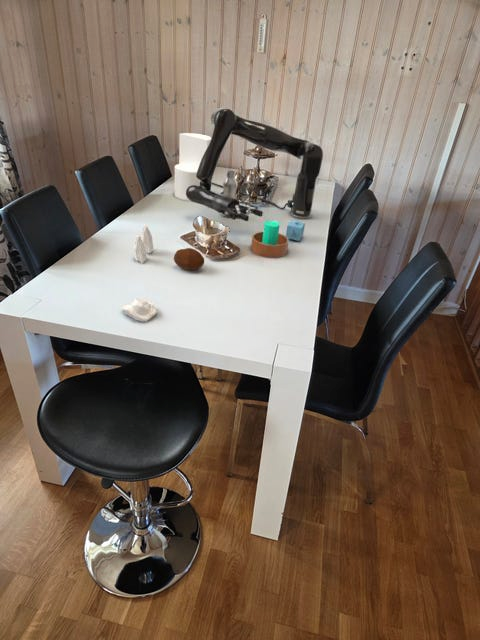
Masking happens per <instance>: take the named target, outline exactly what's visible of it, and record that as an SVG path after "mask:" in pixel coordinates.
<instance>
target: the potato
mask: <svg viewBox="0 0 480 640" xmlns="http://www.w3.org/2000/svg"><path fill="white" fill-rule="evenodd" d="M173 261H174V263H175V265H176V266H177V267H179V268H181V269H183V270H189V271H197V270H199V269H200V268H202V267H203V266H204V265H205V257H204V256H203V255H202V253H201V252H200V251H198V250H197V249H194V248H191V247H188V248H179V249H178V250H176V252H175V253H174V255H173Z"/></svg>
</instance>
